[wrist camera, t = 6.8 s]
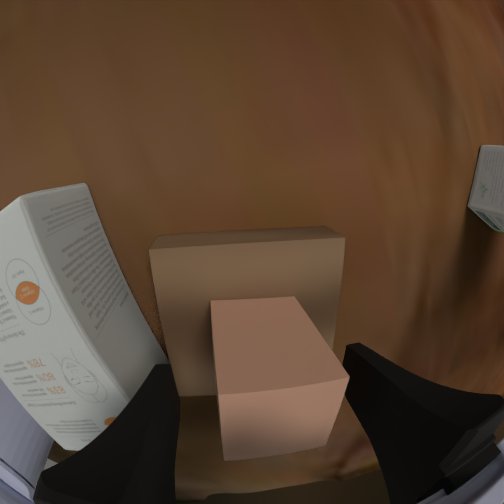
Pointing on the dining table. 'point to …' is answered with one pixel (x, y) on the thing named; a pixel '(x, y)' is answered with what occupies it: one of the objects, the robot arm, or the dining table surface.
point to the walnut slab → (239, 286)
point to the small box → (68, 317)
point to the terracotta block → (272, 378)
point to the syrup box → (489, 187)
